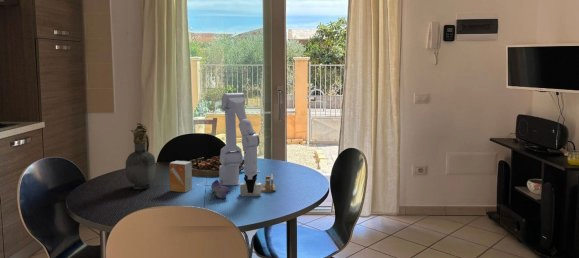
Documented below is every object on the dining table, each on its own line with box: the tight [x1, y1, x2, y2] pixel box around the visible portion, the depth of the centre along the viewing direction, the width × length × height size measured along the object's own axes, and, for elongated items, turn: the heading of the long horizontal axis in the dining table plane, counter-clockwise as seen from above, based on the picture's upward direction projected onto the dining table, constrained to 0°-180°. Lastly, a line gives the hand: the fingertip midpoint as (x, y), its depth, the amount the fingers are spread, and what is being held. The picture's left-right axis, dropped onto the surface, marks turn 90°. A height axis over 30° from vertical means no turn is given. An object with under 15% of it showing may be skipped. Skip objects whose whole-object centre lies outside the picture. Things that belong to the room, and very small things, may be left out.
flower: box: [208, 178, 231, 202], centre depth 208 cm, size 9×8×10 cm
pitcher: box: [125, 122, 157, 190], centre depth 226 cm, size 11×19×30 cm, turn 178°
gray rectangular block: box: [239, 182, 262, 197], centre depth 215 cm, size 9×4×5 cm, turn 92°
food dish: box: [190, 155, 244, 178], centre depth 263 cm, size 35×33×8 cm
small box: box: [168, 160, 193, 193], centre depth 221 cm, size 8×6×13 cm
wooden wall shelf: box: [261, 173, 276, 193], centre depth 225 cm, size 13×11×6 cm
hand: (250, 191), depth 215 cm, fingers closed on gray rectangular block, 3 cm apart
